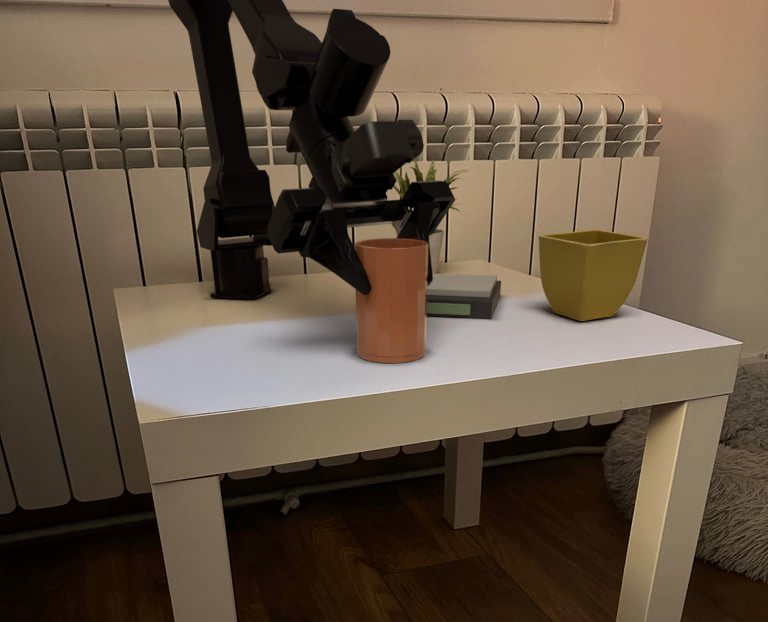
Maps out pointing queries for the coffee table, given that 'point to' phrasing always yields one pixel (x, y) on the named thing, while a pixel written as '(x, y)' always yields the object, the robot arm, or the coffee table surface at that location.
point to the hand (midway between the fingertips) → (399, 288)
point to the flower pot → (589, 271)
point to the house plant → (437, 236)
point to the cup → (393, 300)
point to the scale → (463, 295)
